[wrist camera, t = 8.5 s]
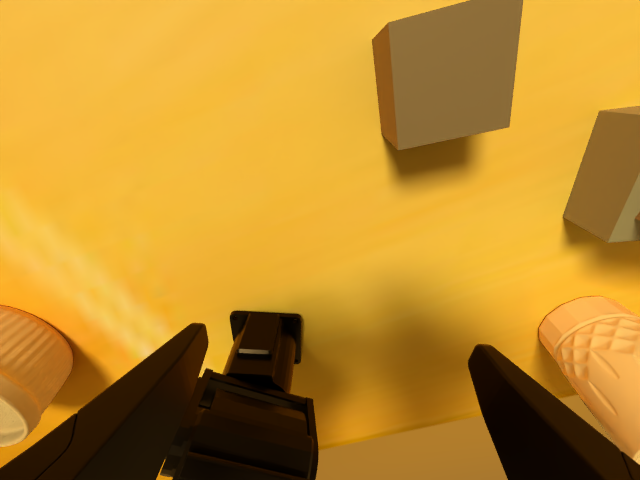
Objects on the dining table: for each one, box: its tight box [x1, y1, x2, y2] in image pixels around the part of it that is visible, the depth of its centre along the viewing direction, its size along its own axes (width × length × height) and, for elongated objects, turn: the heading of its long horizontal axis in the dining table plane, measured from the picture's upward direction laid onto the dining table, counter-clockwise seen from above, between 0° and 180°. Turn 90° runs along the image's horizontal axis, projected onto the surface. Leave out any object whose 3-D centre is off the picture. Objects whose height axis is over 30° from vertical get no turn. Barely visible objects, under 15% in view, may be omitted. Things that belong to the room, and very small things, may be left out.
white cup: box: [539, 296, 640, 465], centre depth 21 cm, size 8×8×10 cm
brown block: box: [372, 0, 523, 150], centre depth 14 cm, size 5×5×5 cm
